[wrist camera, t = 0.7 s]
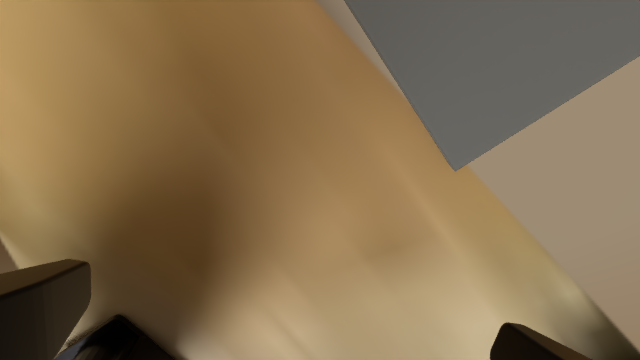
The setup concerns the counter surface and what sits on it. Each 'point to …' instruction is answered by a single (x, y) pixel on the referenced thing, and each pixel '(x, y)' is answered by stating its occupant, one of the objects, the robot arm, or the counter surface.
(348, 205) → the counter surface
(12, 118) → the counter surface
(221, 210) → the counter surface
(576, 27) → the gray panel
